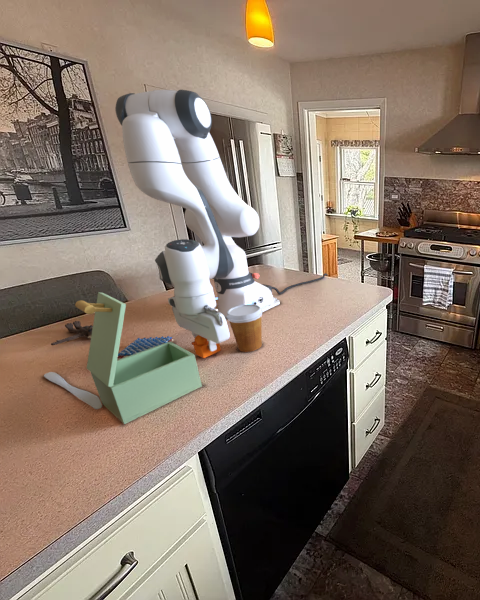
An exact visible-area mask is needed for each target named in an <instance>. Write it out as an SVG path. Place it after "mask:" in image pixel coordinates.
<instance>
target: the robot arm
mask: <svg viewBox="0 0 480 600" xmlns="http://www.w3.org/2000/svg"><path fill="white" fill-rule="evenodd" d="M114 110H115V115H116V118H117V120H118V122H119V124H120V125H121V130H122V131H121V133H122V142H123V143H122V144H123V149H124V154H125V158H126V162H127V165H128V169H129V172H130V174H131V178H132V180H133V182H134V184H135V186H136V187H137V188H138V189H139V190H140V191H141V192H142V193H143V194H144V195H146V196H148V197H150V198H152V199H154V200H157V201H159V202H163V203H167V204H171V205H173V206H174V205H175V206H178V207H180V208H183V209H185V210H184V223H185V224H186V226H187V228H188V229H189V230H190V231H192V232H193V233H194V234H195V235H196V236H197V237H198V238H199V239H200V240H201V242H202V243H203V245H201V243H200V242H199V241H197V240H193V239H186V238H185V239H182V238H181V239H174V240H171V241H169V242H167V243H166V244H165V246H164V249H165V250H163V251H161V252H160V253H159V254H158V255H157V256H156V257H155V259H154V262H155V263H156V266H157V270H158V275H159V280H160V281H161V282H164V283H166V284H167V285H170V286H173V296H171V297H168V299H167V301H168V304H169V306H170V307H171V310H172V313H173V315H174V319H175V322H176V324H177V325H178V326H179V327H180V328H182V329H184V330H187V331H189V332H191V335H192V336H193V338H194V339H195V337H196V336H197V335H200V336H202V337H204V338H206V339H207V341H209V344H208V345H207V348H208V350H209V351H215V350H216V349H217V346H216V343H217V344H222V343H223V342H226V341H228V340H229V339H231V333H230V329H229V326H228V322H227V318H226V316H227V312H228V310H229V309H231V308H233V307H236V306H239V305H245V304H254V305H258V306H260V308H261V310H262V311H263V313H265V312H266V311H268V310H270V309H272V308H275V307H276V306H279V305H280V304H281V301H280V300H279V299H278V298H277V297H274V295H273V290H275V292H276V293H277V294H278V295H282V294H284V293H285V292H286V291H287V290H289V289H291V288H295V287H298V286H301V285H307V284H310V283H313V282H317V281H320V280H323V279H324V278H325V277H326V276H327V277H328V276H329V274H328V273H327V272H325V273H323V275H322V276H323V277H322V276H321V277H318V278H314V279H311V280H307V281H301V282H299V283H295V284H292V285H289V286H286V287H285V288H284V289H283V290H282V291H279V289H278V288H277V287H275V286H272V285H269V284H266V283H265V284H264V283H260V282H257V281H255V279H256V280H259V278H260V277H261V276H260V273H257V272H250V271H249V267H248V260H247V259H248V258H247V253H246V252H245V250H244V249H243V248H241V247H240V246H239V245H237V243H235V240H233V238H246V237H252V236H254V235H255V234H257V232H258V230H259V229H260V222H261V221H260V217H259V214H258V212H257V211H256V210H255V208H253V206H250V205H248V204H247V203H246V202H245V201H244V200H243V199H242V198H241V197H240V196H239V195H238V194H237V192H236V190H235V189H234V188H233V186H232V184H231V182H230V180H229V178H228V175H227V173H226V171H225V167H224V165H223V162H222V160H221V156H220V154H219V151H218V148H217V146H216V143H215V141H214V138H213V137H212V135H211V133H210V131H211V128H212V125H213V124H212V123H213V118H212V113H211V110H210V107H209V106H208V104H207V102H206V101H205V99H204V98H203V97H201V95H200V94H198V93H197V92H195V91H192V90H187V89H177V90H175V89H154V90H150V91H142V92H137V93H135V92H130V93H126V94H123V95H121V96H119V97H118V98H117V100H116V103H115V109H114ZM211 280H213V282H214V287H213V285H212V284H211ZM214 288H215V291H216V295H217V297H215V291H214ZM216 300H217V301H216ZM216 307H217V308H216Z"/></svg>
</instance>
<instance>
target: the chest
mask: <svg viewBox="0 0 480 600" xmlns="http://www.w3.org/2000/svg"><path fill="white" fill-rule="evenodd" d="M195 355H196V354H194V353H192V352H190V351H189V350H187V349H185V348H183V347H182V346H180V345H178V344H176V343H174V342H171V341H170V342H167V343H164V344H161V345H158V346H156V347H153V348H150V349H147V350H144V351H142V352H139V353H136V354H133V355H130V356H128V357H125V358H122V359H119V360H118V359H117V364H116V370H115V377H114V383H113V386H111V387H108V386H106V385H105V384H104V383H103V382H102V381H101V380H100V379H98V378H97V377H96V376H95V375H94V374H93V373H91V372H90V375H91V378H92V380H93V383H94V385H95V388H96V391H97V393H98V397H99V399H100V401H101V404H102V406H104V407H105V408H106V409H107V410H108V411H109V412H110V413H111V414H113V415H114V416H115V417H116V418H117V419H118V421H120V422H121V423H122V424H123V425H126V424H128V423H131V422H132V421H135V420H136V419H139V418H141V417H142V416H144V415H147V414H148V413H151V412H153V411H155V410H157V409H159V408H161V407H163V406H165V405H167V404H169V403H171V402H173V401H175V400H178V399H180V398H181V397H183V396H185V395H187V394H190V393H192V392H194V391H195V390H197V389H200V388H202V387H203V384H202V380H201V375H200V372H199V368H198V363H197V360H196V356H195Z"/></svg>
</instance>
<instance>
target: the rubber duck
mask: <svg viewBox="0 0 480 600" xmlns="http://www.w3.org/2000/svg"><path fill="white" fill-rule="evenodd" d="M208 344H209V341H207V339H206V338H204V337H202V336H200V335H197V336H196V337H195V338H194V340H193V341H192V342H191V345H192V346H193V350H194V352H195V355H196V356H198V357H200V358H203V359H206V358H207V357H208V358H209V357H210V356H212V355H215V354H216V353H219V352H221V351H222V348H221V343H219V344H217V343H216V346H217V349H216V350H215V351H209V350H208V348H207V345H208Z"/></svg>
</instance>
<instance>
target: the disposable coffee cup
mask: <svg viewBox="0 0 480 600" xmlns="http://www.w3.org/2000/svg"><path fill="white" fill-rule="evenodd" d="M263 313H264V312H263V311H262V310H261V308H260V306H258V305H254V304H245V305H239V306H236V307H233V308H231V309H229V310H228V312H227V316H226V318H225V319H226V320H227V321H228V322H229V325H230V328H231V331H232V334H233V336H234V339H235V342H236V345H237V348H238V350H239V352H243V353H250V352H254V351H256V350H259V349H260V348H262V345H263V342H262V340H263V337H262V336H263V334H262V332H263V329H262V327H263V326H262V316H263Z"/></svg>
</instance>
